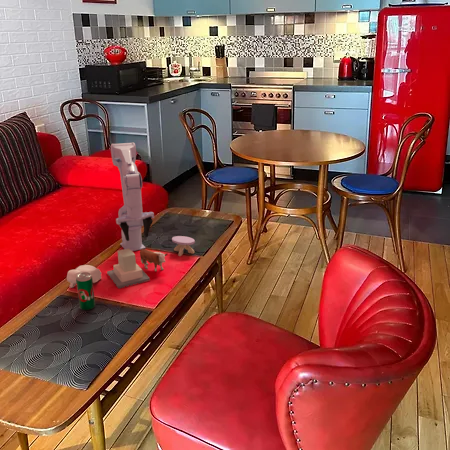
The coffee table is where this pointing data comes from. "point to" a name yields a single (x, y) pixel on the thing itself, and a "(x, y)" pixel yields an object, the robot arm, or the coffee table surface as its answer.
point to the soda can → (85, 291)
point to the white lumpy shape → (84, 268)
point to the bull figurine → (152, 258)
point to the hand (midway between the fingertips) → (136, 238)
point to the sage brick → (126, 260)
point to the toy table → (183, 244)
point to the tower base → (118, 283)
